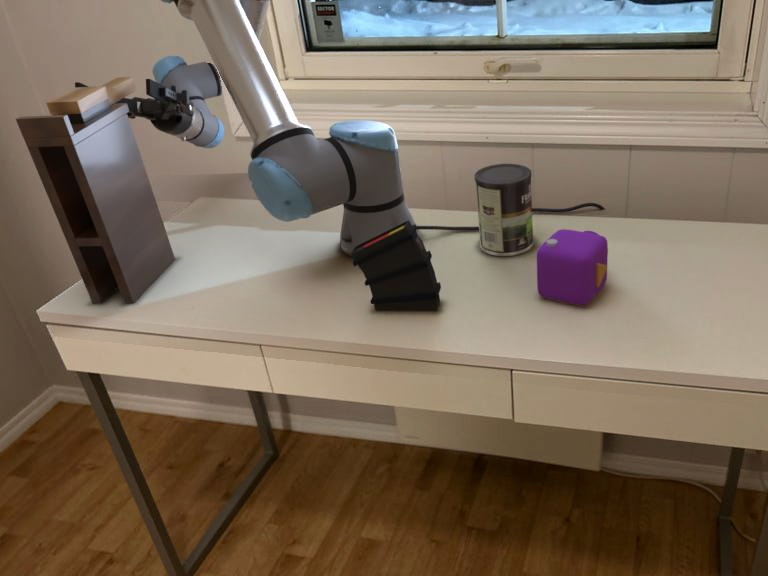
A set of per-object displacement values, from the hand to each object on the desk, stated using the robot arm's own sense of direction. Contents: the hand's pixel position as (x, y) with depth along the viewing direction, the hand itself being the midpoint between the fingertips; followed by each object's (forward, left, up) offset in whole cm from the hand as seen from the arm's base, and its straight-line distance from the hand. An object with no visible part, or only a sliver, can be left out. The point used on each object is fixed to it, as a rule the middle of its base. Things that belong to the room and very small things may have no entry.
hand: (112, 88), depth 134 cm
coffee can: (-69, +1, -32) cm, 76 cm away
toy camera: (-82, +18, -32) cm, 90 cm away
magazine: (-53, +24, -32) cm, 66 cm away
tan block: (0, +5, -2) cm, 5 cm away
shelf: (0, +13, -32) cm, 34 cm away
